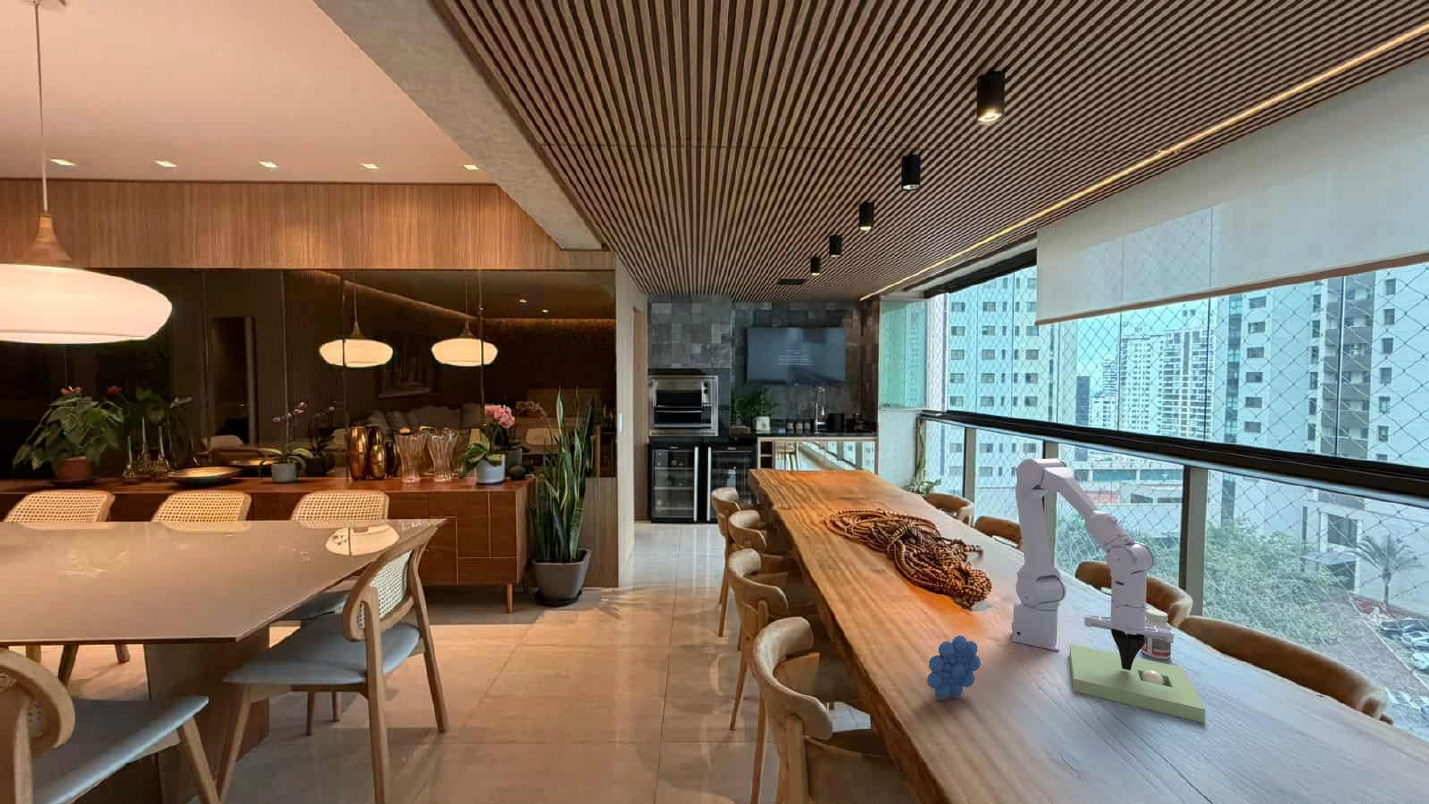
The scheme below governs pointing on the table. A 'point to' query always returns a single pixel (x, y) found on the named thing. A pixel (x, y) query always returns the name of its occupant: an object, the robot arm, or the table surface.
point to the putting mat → (1134, 683)
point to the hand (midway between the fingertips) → (1125, 667)
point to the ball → (1152, 677)
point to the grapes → (953, 667)
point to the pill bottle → (1157, 646)
